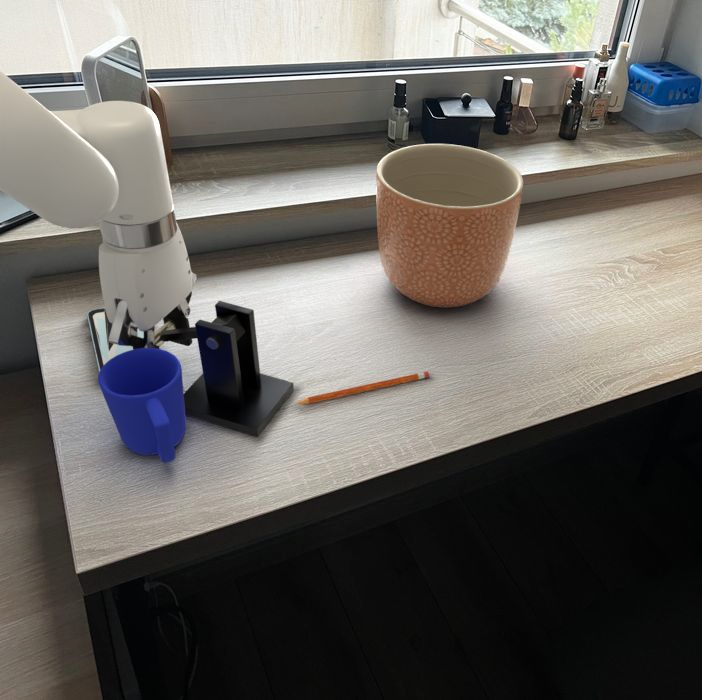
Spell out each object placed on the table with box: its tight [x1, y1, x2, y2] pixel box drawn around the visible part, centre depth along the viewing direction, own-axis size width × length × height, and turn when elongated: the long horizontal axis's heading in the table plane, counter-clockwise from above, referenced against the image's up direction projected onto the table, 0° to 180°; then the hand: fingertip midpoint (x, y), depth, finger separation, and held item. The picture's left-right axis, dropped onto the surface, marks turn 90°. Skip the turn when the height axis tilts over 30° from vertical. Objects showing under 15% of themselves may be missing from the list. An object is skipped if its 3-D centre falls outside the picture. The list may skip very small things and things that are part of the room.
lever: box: [154, 315, 245, 348], centre depth 84 cm, size 12×5×2 cm, turn 72°
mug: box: [97, 348, 187, 464], centre depth 79 cm, size 8×12×10 cm
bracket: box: [184, 300, 295, 437], centre depth 85 cm, size 11×9×13 cm
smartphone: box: [86, 306, 144, 373], centre depth 95 cm, size 7×1×15 cm
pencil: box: [294, 371, 430, 405], centre depth 92 cm, size 1×18×1 cm, turn 115°
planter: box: [375, 143, 525, 308], centre depth 107 cm, size 21×21×19 cm
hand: (165, 354), depth 88 cm, fingers closed on lever, 5 cm apart
